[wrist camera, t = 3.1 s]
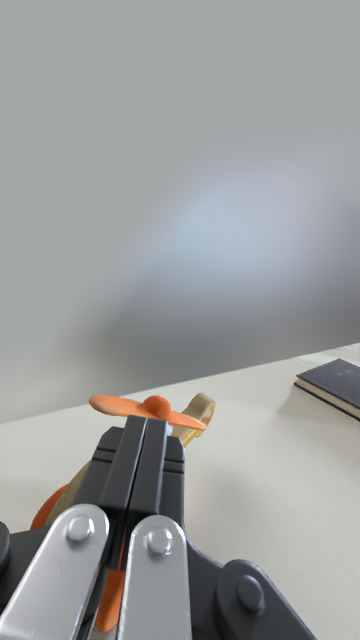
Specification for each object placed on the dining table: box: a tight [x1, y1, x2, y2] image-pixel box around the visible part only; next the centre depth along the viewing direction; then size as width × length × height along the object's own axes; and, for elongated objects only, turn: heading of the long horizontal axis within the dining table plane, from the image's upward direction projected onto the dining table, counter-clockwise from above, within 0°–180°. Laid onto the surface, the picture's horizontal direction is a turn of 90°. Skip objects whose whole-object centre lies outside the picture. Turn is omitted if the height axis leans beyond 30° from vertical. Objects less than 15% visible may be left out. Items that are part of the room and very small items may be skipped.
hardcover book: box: [294, 359, 360, 421], centre depth 56 cm, size 16×23×2 cm
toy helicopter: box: [30, 393, 215, 633], centre depth 24 cm, size 8×21×14 cm, turn 147°
